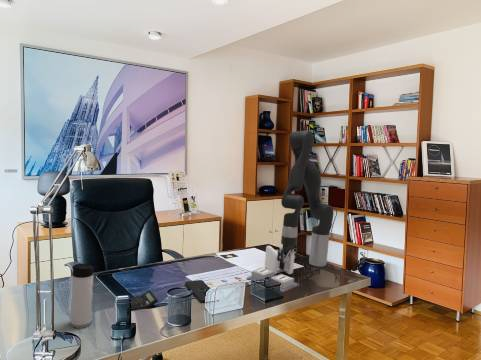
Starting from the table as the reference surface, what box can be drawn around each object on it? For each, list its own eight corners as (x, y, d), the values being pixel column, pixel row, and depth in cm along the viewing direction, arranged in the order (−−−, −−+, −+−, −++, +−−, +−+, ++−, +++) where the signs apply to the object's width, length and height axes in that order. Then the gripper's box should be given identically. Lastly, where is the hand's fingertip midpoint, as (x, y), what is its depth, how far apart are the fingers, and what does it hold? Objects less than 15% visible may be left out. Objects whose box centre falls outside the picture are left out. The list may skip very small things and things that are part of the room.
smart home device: (200, 300, 144) (184, 281, 162) (200, 304, 144) (184, 285, 162) (220, 297, 148) (202, 279, 166) (220, 301, 148) (201, 283, 166)
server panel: (263, 273, 183) (264, 264, 183) (298, 285, 171) (299, 276, 170) (246, 279, 173) (247, 270, 173) (282, 292, 161) (283, 283, 160)
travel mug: (65, 324, 121) (67, 264, 119) (83, 317, 127) (85, 259, 125) (77, 330, 118) (79, 269, 116) (95, 323, 124) (97, 264, 122)
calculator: (120, 301, 141) (120, 293, 141) (150, 297, 147) (150, 289, 147) (125, 312, 133) (126, 304, 133) (157, 307, 139) (158, 299, 139)
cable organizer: (263, 266, 194) (265, 244, 193) (282, 265, 197) (284, 244, 195) (273, 276, 179) (275, 253, 178) (293, 276, 182) (296, 253, 181)
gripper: (290, 231, 190) (288, 262, 191) (274, 235, 179) (271, 268, 180) (303, 234, 185) (300, 266, 186) (287, 238, 174) (284, 272, 176)
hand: (286, 267), depth 183 cm, fingers open, 8 cm apart
